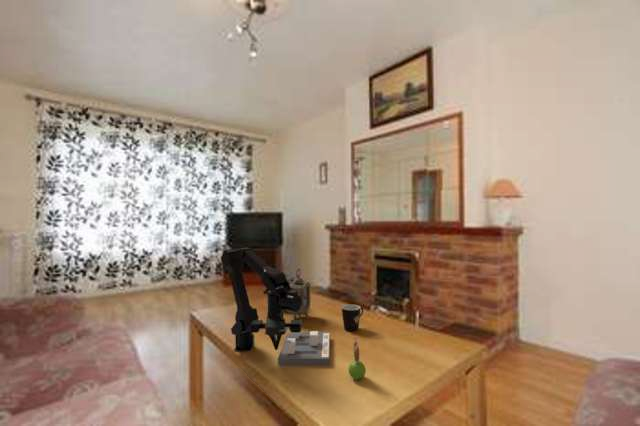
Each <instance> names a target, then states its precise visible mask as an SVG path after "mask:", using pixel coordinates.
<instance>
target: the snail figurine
mask: <svg viewBox="0 0 640 426" xmlns="http://www.w3.org/2000/svg"><path fill="white" fill-rule="evenodd" d="M357 338H358V337H357V336H356V337H355V336H354V337H353V338H352V339H353V357H354V361H352V362H350V364H349V367H348V374H349V376H350V377H351V378H352V379H354V380H361V379H363V378H364V376H365V375H366V372H367V371H366V370H367V369H366V366H365V365H364V363H363V362H362V361H360V348H359V346H358V341H357Z"/></svg>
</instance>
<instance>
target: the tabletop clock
mask: <svg viewBox="0 0 640 426" xmlns="http://www.w3.org/2000/svg"><path fill="white" fill-rule="evenodd" d="M298 272H301V269H300V268H298V269H296V273H295V276H296V278H295V279H293V281H292V282H293V283H292V284H290V287H291V289H292V290H290V291H297V292H298V295H299V296H300V298H301V300H302V304H301V307H300V309H299V310H298V311H297V312H294V311H289V310H285V311H286V312H287V313H288V314H290V315H293V316H292V318H293V320H296V319H297V315H298V318H299V320H301V321H302V323H303V319H302V316H301V315H304V316H308V315H309V313H308V312H309V310H310V308H311V284H310V282H306V281H305V282H304V280H303V278H301V277H300V276H301V273H298Z"/></svg>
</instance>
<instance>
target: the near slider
mask: <svg viewBox="0 0 640 426" xmlns="http://www.w3.org/2000/svg"><path fill="white" fill-rule="evenodd" d="M295 350H296V338H288V339H287V342H286V354H295Z"/></svg>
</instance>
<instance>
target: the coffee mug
mask: <svg viewBox="0 0 640 426" xmlns="http://www.w3.org/2000/svg"><path fill="white" fill-rule="evenodd" d="M341 313H342V315H341V316H342V322H343V330H344V331H346V332H348V333H354V332H355V333H356V332H358V331H359V326H360V325H359V324H360V319H361V317H362V315H363V313H364V308H363V307H361V306H360V305H357V304H344V305H342V306H341Z"/></svg>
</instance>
